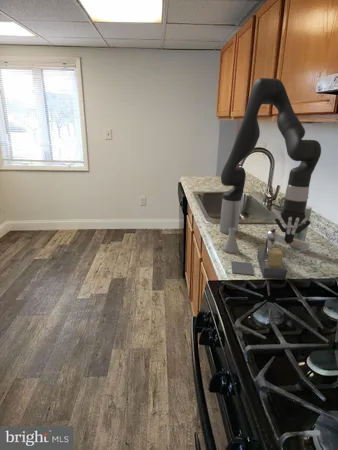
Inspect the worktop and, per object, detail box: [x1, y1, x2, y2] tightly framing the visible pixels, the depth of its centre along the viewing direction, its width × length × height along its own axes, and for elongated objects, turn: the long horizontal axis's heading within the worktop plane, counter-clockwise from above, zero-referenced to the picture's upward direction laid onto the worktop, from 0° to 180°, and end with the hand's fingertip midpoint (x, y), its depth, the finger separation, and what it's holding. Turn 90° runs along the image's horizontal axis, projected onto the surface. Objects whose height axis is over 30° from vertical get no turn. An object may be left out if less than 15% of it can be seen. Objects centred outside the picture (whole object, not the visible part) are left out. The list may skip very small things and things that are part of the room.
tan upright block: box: [267, 247, 284, 268], centre depth 111 cm, size 5×4×6 cm
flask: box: [221, 228, 239, 254], centre depth 131 cm, size 7×7×10 cm
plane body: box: [256, 238, 288, 281], centre depth 116 cm, size 18×8×10 cm, turn 171°
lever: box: [267, 228, 311, 251], centre depth 115 cm, size 16×4×4 cm, turn 46°
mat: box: [230, 260, 255, 276], centre depth 117 cm, size 10×8×1 cm
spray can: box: [288, 205, 313, 252], centre depth 134 cm, size 6×6×20 cm
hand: (288, 242), depth 112 cm, fingers closed
